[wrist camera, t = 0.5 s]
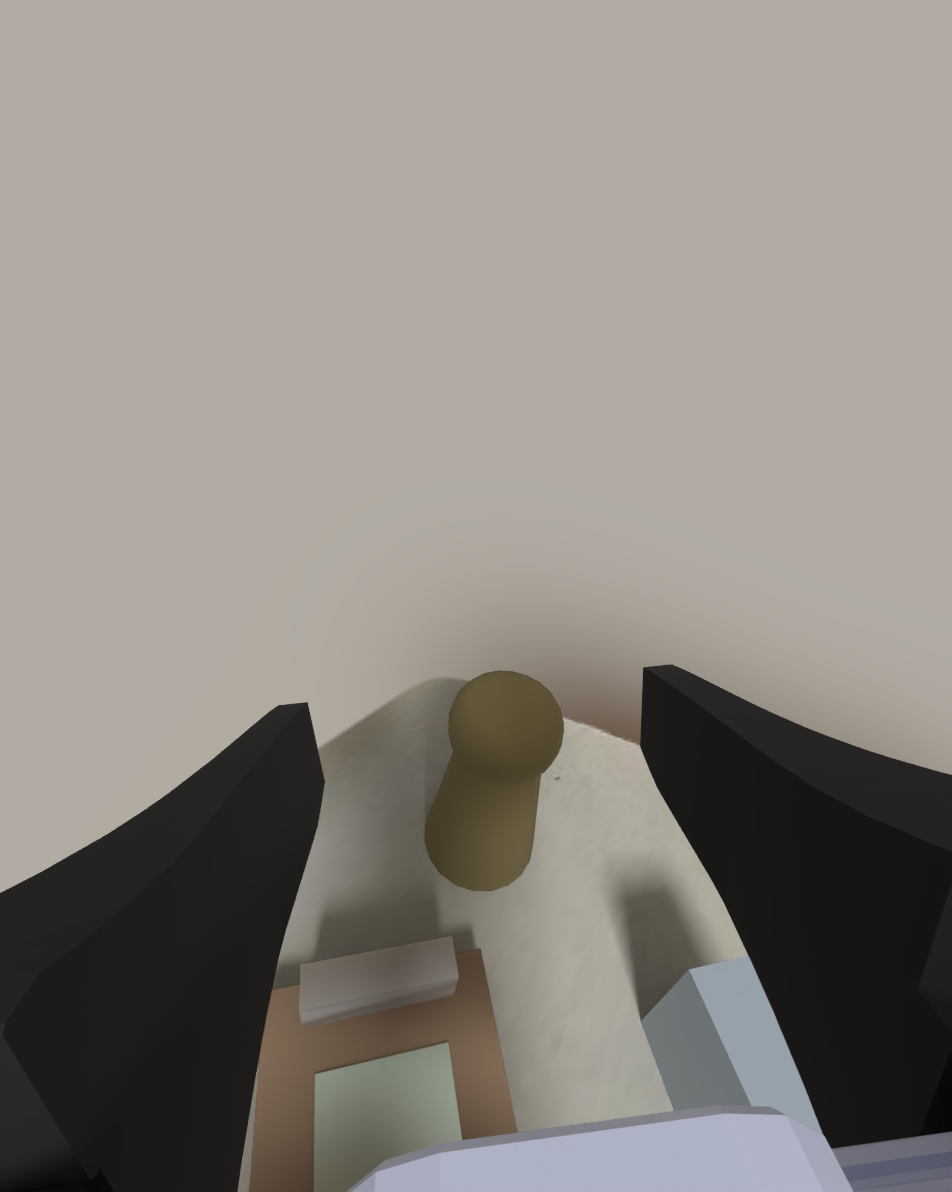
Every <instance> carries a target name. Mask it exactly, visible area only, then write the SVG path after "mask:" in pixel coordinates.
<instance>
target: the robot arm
mask: <svg viewBox="0 0 952 1192" xmlns="http://www.w3.org/2000/svg"><path fill="white" fill-rule="evenodd" d="M642 690H643V692H642V717H641V742H640V747H641V750H642V752H643V755H644V757H645V760H646V762H647V765H648V767H649V770H650V772H651V774H652V777H653V779H654V781H655V783H656V786H657V788H658V790H659V791H660V793H661V795H662V797H663V798H664V800H665V802H666V804H667V805H668V807H669V809H670V810H671V812H672V814H673V816H674V817H675V819H676V821H677V822H678V824H679V826H680V827H681V829H682V831H683V833H684V834H685V836H686V838H687V839H688V841H689V843H690V844H691V846H692V848H693V849H694V851H695V853H696V854H697V856H698V858H699V860H700V861H701V863H702V865H703V866H704V868H705V870H706V871H707V873H708V875H709V876H710V878H711V880H712V882H713V883H714V885H715V887H716V889H717V891H718V893H719V895H720V896H721V898H722V900H723V902H724V904H725V906H726V908H727V910H728V913H729V915H730V917H731V919H732V921H733V923H734V925H735V928H736V930H737V932H738V934H739V936H740V938H741V940H742V943H743V945H744V947H745V949H746V951H747V953H748V956H749V958H750V960H751V962H752V965H753V967H754V969H755V971H756V974H757V976H758V978H759V980H760V983H761V985H762V987H763V990H764V992H765V994H766V996H767V999H768V1001H769V1003H770V1005H771V1008H772V1010H773V1012H774V1015H775V1017H776V1019H777V1022H778V1024H779V1027H780V1029H781V1032H782V1034H783V1036H784V1039H785V1041H786V1044H787V1046H788V1048H789V1051H790V1053H791V1056H792V1058H793V1060H794V1063H795V1065H796V1068H797V1070H798V1073H799V1075H800V1077H801V1080H802V1082H803V1085H804V1087H805V1090H806V1092H807V1095H808V1097H809V1100H810V1103H811V1105H812V1108H813V1110H814V1113H815V1115H816V1118H817V1121H818V1123H819V1126H820V1128H821V1131H822V1133H823V1135H822V1134H820V1133H818V1132H817V1131H815V1130H813V1129H811V1128H809V1127H808V1126H806V1125H804V1124H802V1123H800V1122H798V1121H797V1120H795V1119H793V1118H791V1117H789V1116H787V1115H785V1114H784V1113H782V1112H780V1111H778V1110H776V1109H774V1108H772V1107H766V1106H728V1105H715V1106H708V1107H701V1108H693V1109H686V1110H679V1111H671V1112H664V1113H657V1114H650V1115H642V1116H635V1117H628V1118H621V1119H613V1120H606V1121H599V1122H591V1123H584V1124H577V1125H570V1126H562V1127H555V1128H548V1129H541V1130H533V1131H526V1132H519V1133H511V1134H504V1135H497V1136H490V1137H482V1138H475V1139H468V1140H461V1141H453V1142H446V1143H440V1144H437V1145H433V1146H430V1147H427V1148H423V1149H420V1150H417V1151H413V1152H410V1153H407V1154H403V1155H400V1156H397V1157H393V1158H390V1159H387V1160H385V1161H383V1162H382V1163H381V1164H380V1165H378V1166H377V1167H376V1168H375V1169H373V1170H372V1171H371V1172H370V1173H369V1174H367V1175H366V1176H365V1177H364V1178H362V1179H361V1180H360V1181H359V1182H357V1183H356V1184H355V1185H354V1186H352V1187H351V1188H350V1189H349V1190H348V1191H347V1192H952V775H950V774H946V773H942V772H938V771H934V770H931V769H927V768H924V767H920V766H917V765H914V764H910V763H906V762H903V761H900V760H896V759H893V758H889V757H886V756H883V755H880V754H877V753H874V752H871V751H868V750H864V749H862V748H859V747H856V746H853V745H850V744H848V743H845V742H842V741H840V740H837V739H834V738H831V737H828V736H826V735H823V734H821V733H818V732H815V731H813V730H810V729H808V728H805V727H803V726H801V725H799V724H796V723H794V722H792V721H789V720H787V719H785V718H782V717H780V716H778V715H775V714H773V713H771V712H769V711H767V710H765V709H763V708H760V707H758V706H756V705H754V704H752V703H750V702H748V701H746V700H744V699H742V698H740V697H738V696H735V695H734V694H732V693H729V692H728V691H726V690H724V689H722V688H720V687H718V686H716V685H714V684H712V683H710V682H708V681H706V680H704V679H702V678H700V677H698V676H696V675H694V674H692V673H690V672H688V671H686V670H683V669H681V668H679V667H676V666H674V665H662V666H653V667H644V668H643V689H642ZM324 783H325V780H324V776H323V771H322V767H321V762H320V757H319V753H318V748H317V744H316V740H315V735H314V730H313V726H312V721H311V716H310V712H309V707H308V703H307V702H306V703H297V704H287V705H278V706H277V707H275V708H274V709H273V710H271V711H270V712H269V713H267V714H266V715H265V716H264V717H262V718H261V719H260V720H259V721H258V722H256V723H255V724H254V725H253V726H252V727H250V728H249V729H248V730H247V731H246V732H245V733H243V734H242V735H241V736H240V737H239V738H238V739H236V740H235V741H234V742H233V743H231V745H229V746H228V747H227V748H226V749H224V750H223V751H222V752H221V753H220V754H218V755H217V756H216V757H215V758H214V759H212V760H211V761H210V762H209V763H207V764H206V765H205V766H203V767H202V768H201V769H199V770H198V771H197V772H196V773H194V774H193V775H192V776H190V777H189V778H188V779H187V780H185V781H184V782H182V783H181V784H180V785H179V786H177V787H176V788H175V789H174V790H172V791H171V792H170V793H168V794H167V795H165V796H164V797H163V798H161V799H160V800H158V801H157V802H156V803H154V804H153V805H151V806H150V807H148V808H147V809H145V810H144V811H142V812H141V813H140V814H138V815H136V816H135V817H133V818H132V819H130V820H129V821H127V822H126V823H124V824H123V825H121V826H119V827H118V828H116V829H115V830H113V831H112V832H110V833H108V834H107V835H105V836H103V837H102V838H100V839H98V840H97V841H95V842H93V843H91V844H90V845H88V846H86V847H84V848H83V849H81V850H79V851H77V852H76V853H74V854H72V855H70V856H69V857H67V858H65V859H63V860H62V861H60V862H58V863H56V864H55V865H53V866H51V867H49V868H48V869H46V870H44V871H42V872H40V873H38V874H37V875H35V876H33V877H31V878H29V879H27V880H25V881H23V882H21V883H19V884H17V885H15V886H13V887H11V888H9V889H7V890H5V891H4V892H1V893H0V1192H237V1190H238V1183H239V1176H240V1169H241V1162H242V1156H243V1150H244V1144H245V1138H246V1132H247V1125H248V1119H249V1113H250V1107H251V1101H252V1095H253V1089H254V1083H255V1077H256V1072H257V1066H258V1061H259V1055H260V1050H261V1044H262V1039H263V1034H264V1028H265V1023H266V1017H267V1012H268V1007H269V1002H270V997H271V992H272V988H273V983H274V978H275V973H276V968H277V963H278V958H279V954H280V950H281V946H282V943H283V939H284V935H285V931H286V928H287V925H288V922H289V918H290V915H291V912H292V909H293V905H294V902H295V899H296V896H297V892H298V889H299V886H300V883H301V879H302V876H303V873H304V870H305V866H306V863H307V860H308V856H309V853H310V850H311V846H312V843H313V840H314V836H315V833H316V829H317V826H318V820H319V815H320V809H321V803H322V796H323V790H324Z"/></svg>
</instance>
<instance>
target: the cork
mask: <svg viewBox="0 0 952 1192" xmlns="http://www.w3.org/2000/svg"><path fill="white" fill-rule="evenodd" d="M563 733H564V722H563V718H562V713H561V709H560V707H559V705H558V703H557V702H556V700H555V699H554V697H553V695H552V694H551V692H550V691H549V690H548V689H547V688H546V687H544V686H543V685H542V684H541V683H540V682H538V681H536V680H534V679H533V678H531V677H529V676H527V675H523V674H520V673H516V672H511V671H494V672H489V673H485V674H482V675H481V676H478V677H476V678H474V679H473V680H471V681H470V682H468V683H467V684H466V685H465V686H464V687H463V688H462V689H461V690H460V691H459V693H458V694H457V696H456V698H455V700H454V703H453V705H452V707H451V710H450V713H449V738H450V742H451V745H452V747H453V750H454V751H453V754H452V756H451V759H450V762H449V764H448V767H447V770H446V772H445V775H444V778H443V780H442V783H441V786H440V788H439V791H438V793H437V796H436V799H435V801H434V804H433V807H432V809H431V812H430V815H429V817H428V820H427V822H426V825H425V844H426V847H427V851H428V854H429V857H430V859H431V861H432V862H433V864H434V865H435V866H436V868H437V869H438V871H439V872H440V873H441V874H442V875H443V876H445V877H446V878H447V879H449V880H450V881H451V882H453V883H454V884H455V885H458V886H461V887H464V888H467V889H470V890H472V891H492V890H495V889H498V888H501V887H504V886H507V885H509V884H510V883H511V882H513V881H514V880H515V879H516V878H518V877H519V876H520V875H521V874H522V873H523V871H524V869H525V868H526V866H527V864H528V863H529V861H530V857H531V851H532V846H533V839H534V830H535V821H536V813H537V804H538V795H539V786H540V778H541V774H542V773H544V772H545V771H546V770H547V769H548V767H549V766H550V765H551V764H552V762H553V761H554V759H555V758H556V756H557V755H558V753H559V750H560V748H561V745H562V739H563Z"/></svg>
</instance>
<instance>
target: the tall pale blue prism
mask: <svg viewBox="0 0 952 1192" xmlns="http://www.w3.org/2000/svg"><path fill="white" fill-rule="evenodd" d="M641 1023H642V1026H643V1029H644V1031H645V1034H646V1037H647V1039H648V1042H649V1045H650V1047H651V1050H652V1053H653V1056H654V1058H655V1061H656V1064H657V1066H658V1069H659V1072H660V1074H661V1077H662V1080H663V1082H664V1085H665V1088H666V1090H667V1093H668V1096H669V1098H670V1101H671V1104H672V1107H673V1109H674V1111H679V1110H686V1109H693V1108H701V1107H708V1106H715V1105H728V1106H766V1107H772V1108H774V1109H776V1110H778V1111H780V1112H782V1113H784V1114H785V1115H787V1116H789V1117H791V1118H793V1119H795V1120H797V1121H798V1122H800V1123H802V1124H804V1125H806V1126H808V1127H809V1128H811V1129H813V1130H815V1131H817V1132H818V1133H820V1134H822V1135H823V1133H822V1131H821V1128H820V1126H819V1123H818V1121H817V1118H816V1115H815V1113H814V1110H813V1108H812V1105H811V1103H810V1100H809V1097H808V1095H807V1092H806V1090H805V1087H804V1085H803V1082H802V1080H801V1077H800V1075H799V1073H798V1070H797V1068H796V1065H795V1063H794V1060H793V1058H792V1056H791V1053H790V1051H789V1048H788V1046H787V1044H786V1041H785V1039H784V1036H783V1034H782V1032H781V1029H780V1027H779V1024H778V1022H777V1019H776V1017H775V1015H774V1012H773V1010H772V1008H771V1005H770V1003H769V1001H768V999H767V996H766V994H765V992H764V990H763V987H762V985H761V983H760V980H759V978H758V976H757V974H756V971H755V969H754V967H753V965H752V962H751V960H750V958H749V956H745V957H740V958H736V959H732V960H727V961H723V962H719V963H715V964H710V965H706V966H702V967H697V968H693V969H689V970H688V971H687V972H686V973H685V974H684V975H683V976H682V977H681V979H680V980H679V981H678V982H677V983H676V984H675V985H674V986H673V987H672V988H671V989H670V990H669V991H668V993H667V994H666V995H665V996H664V997H663V998H662V999H661V1000H660V1001H659V1002H658V1003H657V1004H656V1006H655V1007H654V1008H653V1009H652V1010H651V1011H650V1012H649V1013H648V1014H647V1015H646V1016H645V1017H644V1018H643V1020H642V1021H641Z"/></svg>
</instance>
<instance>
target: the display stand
mask: <svg viewBox="0 0 952 1192" xmlns="http://www.w3.org/2000/svg"><path fill="white" fill-rule="evenodd" d="M511 1133H517V1129H516V1124H515V1119H514V1114H513V1109H512V1104H511V1099H510V1094H509V1089H508V1084H507V1079H506V1074H505V1069H504V1064H503V1059H502V1054H501V1049H500V1044H499V1039H498V1034H497V1029H496V1024H495V1019H494V1014H493V1009H492V1004H491V999H490V994H489V989H488V984H487V979H486V974H485V969H484V964H483V959H482V954H481V949H476V950H471V951H466V952H461V953H456V954H455V951H454V945H453V939H452V936H448V937H442V938H437V939H432V940H427V941H421V942H416V943H411V944H406V945H400V946H395V947H390V948H384V949H379V950H374V951H369V952H363V953H358V954H353V955H348V956H342V957H337V958H332V959H326V960H321V961H316V962H311V963H305V964H300V984H299V985H294V986H289V987H284V988H279V989H274V990H272V992H271V997H270V1002H269V1007H268V1012H267V1017H266V1023H265V1028H264V1034H263V1039H262V1044H261V1050H260V1059H259V1072H258V1085H257V1098H256V1111H255V1125H254V1138H253V1151H252V1164H251V1177H250V1190H249V1192H347V1191H348V1190H349V1189H350V1188H351V1187H352V1186H354V1185H355V1184H356V1183H357V1182H359V1181H360V1180H361V1179H362V1178H364V1177H365V1176H366V1175H367V1174H369V1173H370V1172H371V1171H372V1170H373V1169H375V1168H376V1167H377V1166H378V1165H380V1164H381V1163H382V1162H383V1161H385V1160H387V1159H390V1158H393V1157H397V1156H400V1155H403V1154H407V1153H410V1152H413V1151H417V1150H420V1149H423V1148H427V1147H430V1146H433V1145H437V1144H440V1143H446V1142H453V1141H461V1140H468V1139H475V1138H482V1137H490V1136H497V1135H504V1134H511Z"/></svg>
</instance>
